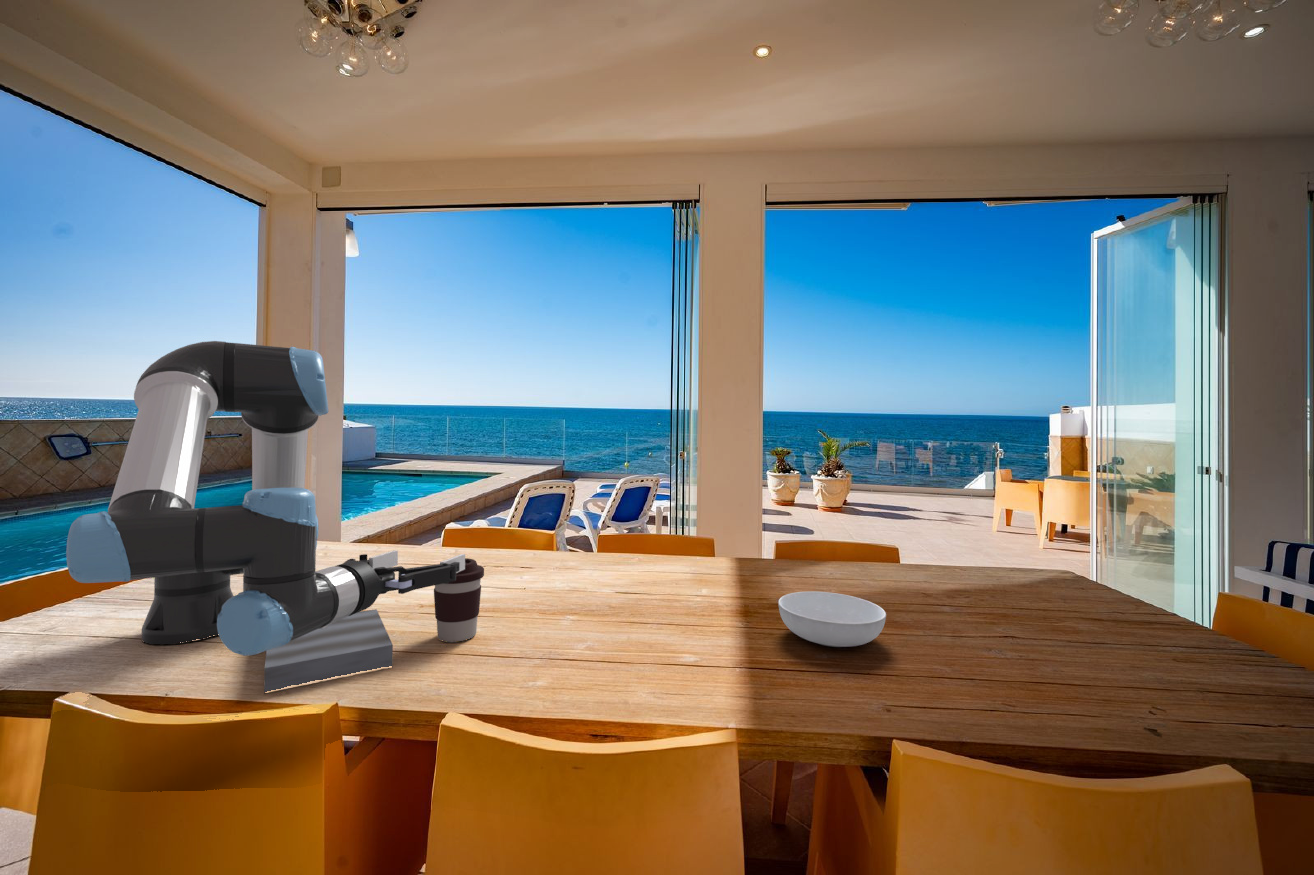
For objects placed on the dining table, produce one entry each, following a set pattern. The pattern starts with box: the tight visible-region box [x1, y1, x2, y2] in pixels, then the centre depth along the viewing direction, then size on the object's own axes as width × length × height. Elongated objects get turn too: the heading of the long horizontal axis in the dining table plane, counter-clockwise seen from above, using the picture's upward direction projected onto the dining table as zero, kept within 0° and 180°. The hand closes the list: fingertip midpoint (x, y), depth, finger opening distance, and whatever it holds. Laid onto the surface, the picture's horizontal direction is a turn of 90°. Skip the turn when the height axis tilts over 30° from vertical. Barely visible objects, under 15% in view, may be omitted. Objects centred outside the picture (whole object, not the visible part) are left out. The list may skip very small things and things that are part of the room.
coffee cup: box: [433, 557, 485, 643], centre depth 109 cm, size 10×10×15 cm
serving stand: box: [263, 608, 394, 693], centre depth 98 cm, size 22×18×4 cm
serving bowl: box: [777, 590, 887, 648], centre depth 111 cm, size 21×21×7 cm
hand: (429, 559), depth 99 cm, fingers open, 13 cm apart
